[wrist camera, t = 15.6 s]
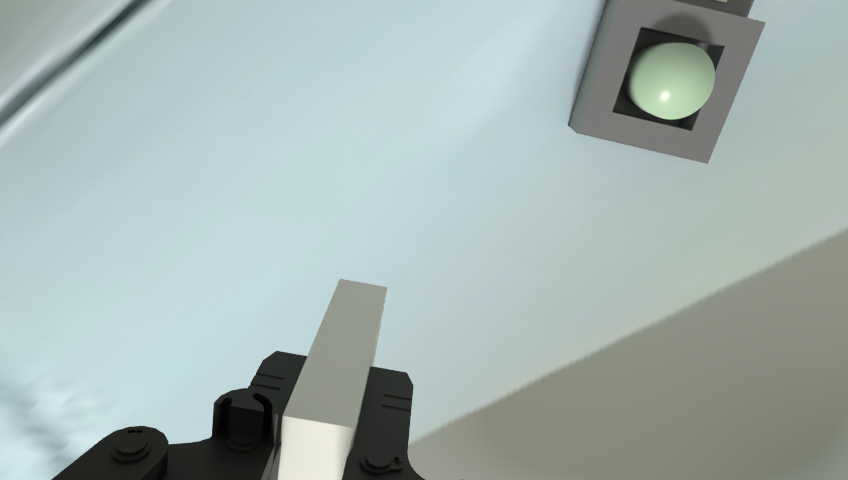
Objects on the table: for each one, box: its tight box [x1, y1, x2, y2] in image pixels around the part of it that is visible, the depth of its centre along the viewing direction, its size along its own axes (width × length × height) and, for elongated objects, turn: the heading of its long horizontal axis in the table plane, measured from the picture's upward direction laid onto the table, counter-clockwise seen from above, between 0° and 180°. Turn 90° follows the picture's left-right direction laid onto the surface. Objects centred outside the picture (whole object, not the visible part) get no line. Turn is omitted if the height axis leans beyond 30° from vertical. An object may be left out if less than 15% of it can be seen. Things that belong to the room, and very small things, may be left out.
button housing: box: [568, 0, 766, 164], centre depth 33 cm, size 8×8×3 cm
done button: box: [624, 42, 715, 120], centre depth 32 cm, size 4×4×3 cm
